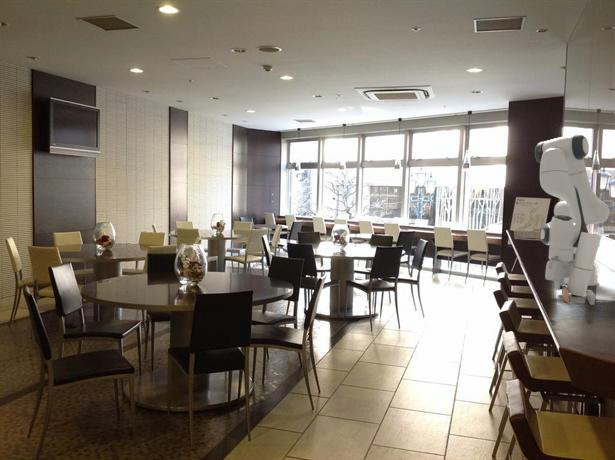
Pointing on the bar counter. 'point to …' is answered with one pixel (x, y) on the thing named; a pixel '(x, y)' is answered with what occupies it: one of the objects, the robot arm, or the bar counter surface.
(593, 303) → the vise fixed jaw
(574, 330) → the bar counter surface
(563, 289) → the sliding jaw
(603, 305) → the bar counter surface
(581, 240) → the white tall box
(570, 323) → the bar counter surface
